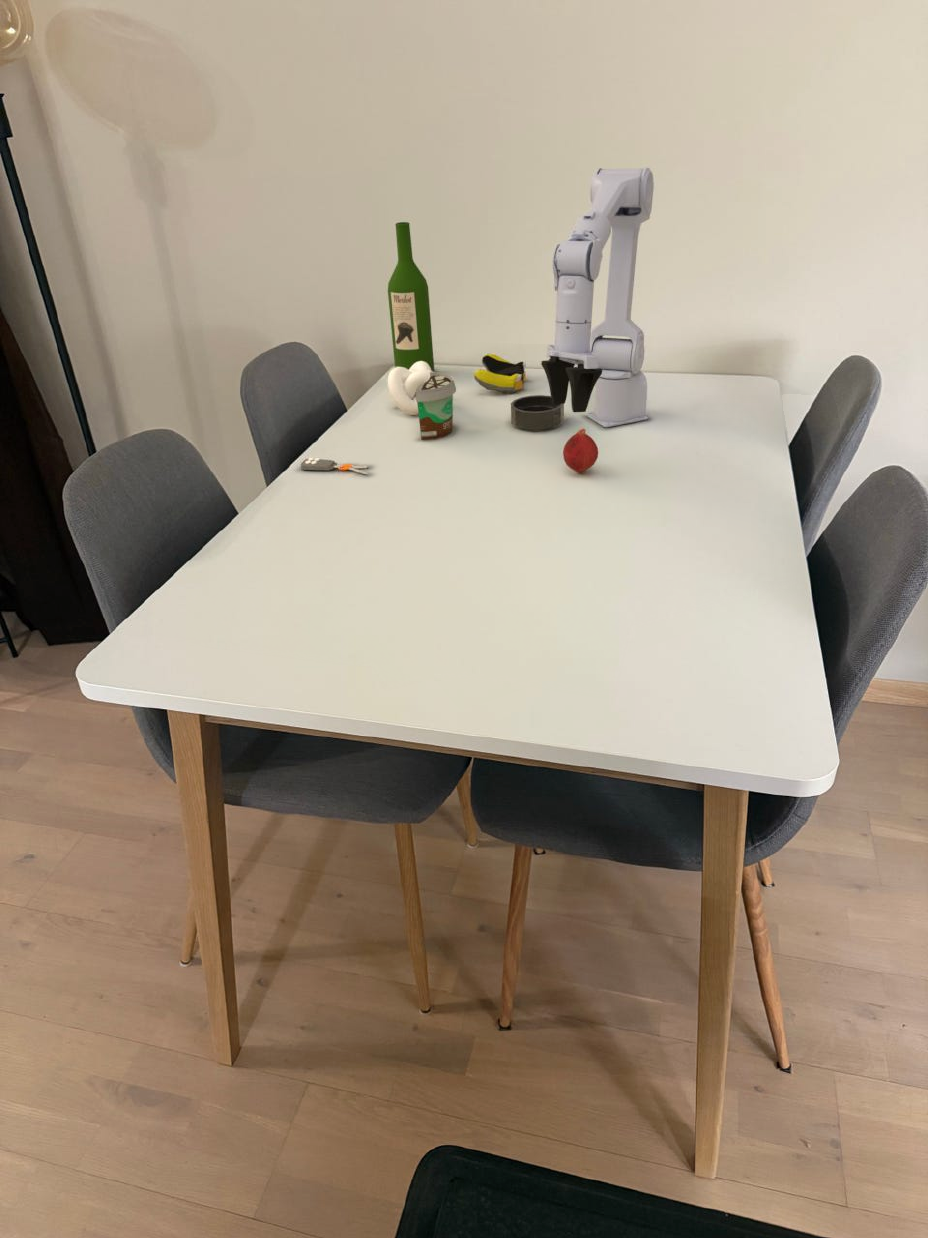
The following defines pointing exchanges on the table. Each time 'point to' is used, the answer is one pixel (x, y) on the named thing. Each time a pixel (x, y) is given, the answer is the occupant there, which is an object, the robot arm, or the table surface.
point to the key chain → (327, 465)
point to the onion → (580, 452)
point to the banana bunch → (500, 374)
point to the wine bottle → (409, 307)
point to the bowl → (536, 413)
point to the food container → (436, 406)
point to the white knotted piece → (408, 385)
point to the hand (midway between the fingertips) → (568, 407)
